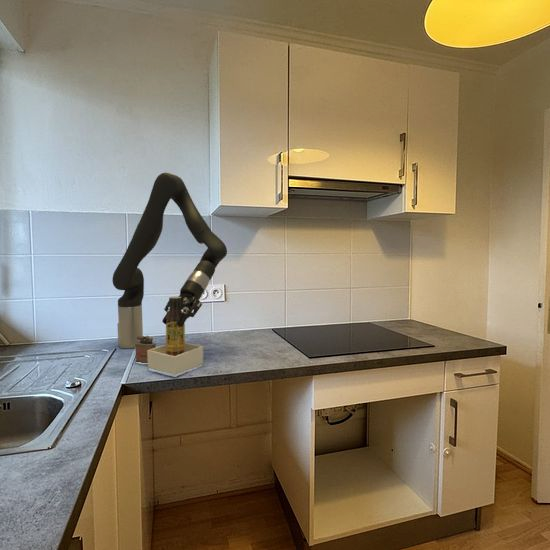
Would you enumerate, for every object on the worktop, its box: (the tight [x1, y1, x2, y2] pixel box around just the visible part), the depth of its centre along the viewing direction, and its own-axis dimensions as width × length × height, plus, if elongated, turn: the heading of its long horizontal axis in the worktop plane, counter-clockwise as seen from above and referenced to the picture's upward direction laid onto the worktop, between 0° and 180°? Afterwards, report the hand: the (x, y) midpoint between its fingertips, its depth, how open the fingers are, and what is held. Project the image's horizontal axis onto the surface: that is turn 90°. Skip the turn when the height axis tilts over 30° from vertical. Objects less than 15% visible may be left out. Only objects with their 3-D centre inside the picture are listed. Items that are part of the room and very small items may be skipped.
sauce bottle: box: [165, 296, 186, 356], centre depth 114 cm, size 6×6×20 cm
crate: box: [147, 342, 204, 375], centre depth 115 cm, size 13×13×7 cm
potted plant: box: [135, 335, 157, 363], centre depth 120 cm, size 8×3×10 cm, turn 74°
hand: (171, 324), depth 113 cm, fingers closed on sauce bottle, 6 cm apart
